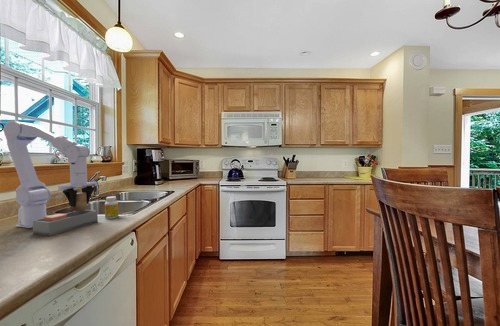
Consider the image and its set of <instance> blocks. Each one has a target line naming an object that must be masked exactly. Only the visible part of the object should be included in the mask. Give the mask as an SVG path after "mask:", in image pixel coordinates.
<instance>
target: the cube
mask: <svg viewBox="0 0 500 326" xmlns="http://www.w3.org/2000/svg"><path fill="white" fill-rule="evenodd" d="M64 218H67V214H65V213H54V214H51V215H46V217H44V221H45V222H52V221H56V220H60V219H64Z"/></svg>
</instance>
